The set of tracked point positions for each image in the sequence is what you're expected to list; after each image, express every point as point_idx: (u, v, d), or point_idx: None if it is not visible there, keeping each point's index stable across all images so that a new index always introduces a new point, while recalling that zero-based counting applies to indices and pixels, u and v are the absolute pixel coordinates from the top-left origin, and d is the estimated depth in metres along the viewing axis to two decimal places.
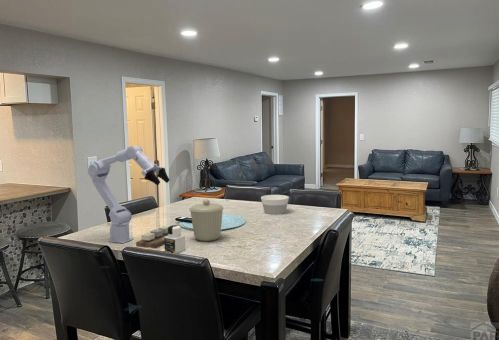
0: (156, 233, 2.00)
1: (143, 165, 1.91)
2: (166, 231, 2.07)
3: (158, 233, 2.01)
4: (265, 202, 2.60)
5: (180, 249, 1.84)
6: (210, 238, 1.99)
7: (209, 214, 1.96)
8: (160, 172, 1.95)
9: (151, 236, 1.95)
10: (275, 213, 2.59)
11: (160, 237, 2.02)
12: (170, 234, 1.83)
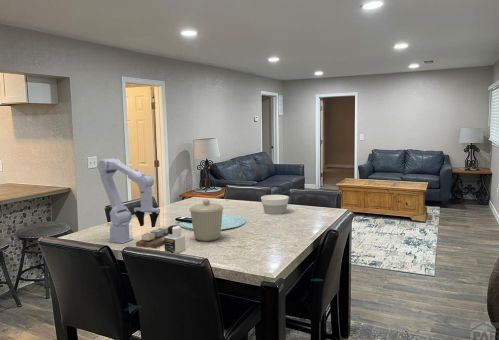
0: (156, 233, 2.00)
1: None
2: (166, 231, 2.07)
3: (158, 233, 2.01)
4: (265, 202, 2.60)
5: (180, 249, 1.84)
6: (210, 238, 1.99)
7: (209, 214, 1.96)
8: None
9: (151, 236, 1.95)
10: (275, 213, 2.59)
11: (160, 237, 2.02)
12: (170, 234, 1.83)
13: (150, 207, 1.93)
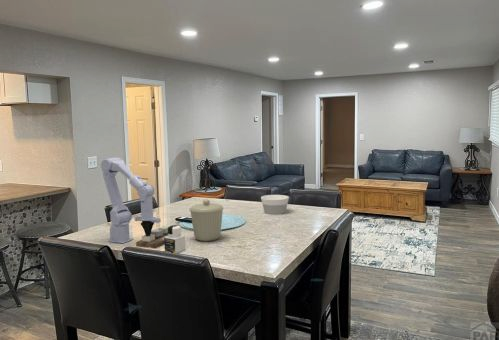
0: (156, 233, 2.00)
1: None
2: (166, 231, 2.07)
3: (158, 233, 2.01)
4: (265, 202, 2.60)
5: (180, 249, 1.84)
6: (210, 238, 1.99)
7: (209, 214, 1.96)
8: None
9: (151, 237, 1.95)
10: (275, 213, 2.59)
11: (160, 237, 2.02)
12: (170, 234, 1.83)
13: (150, 216, 1.94)
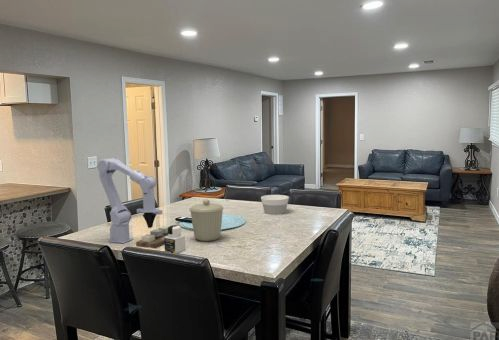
0: (156, 233, 2.00)
1: None
2: (166, 231, 2.07)
3: (158, 233, 2.01)
4: (265, 202, 2.60)
5: (180, 249, 1.84)
6: (210, 238, 1.99)
7: (209, 214, 1.96)
8: None
9: (151, 238, 1.95)
10: (275, 213, 2.59)
11: (160, 237, 2.02)
12: (170, 234, 1.83)
13: (152, 208, 1.95)
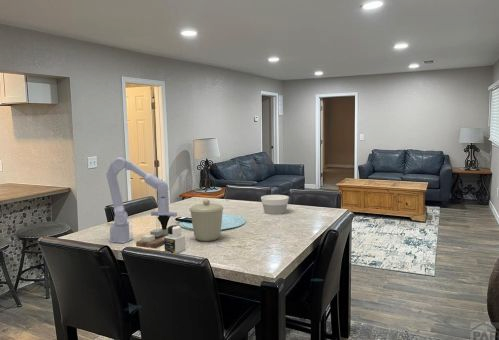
0: (156, 233, 2.00)
1: None
2: (166, 233, 2.08)
3: (158, 233, 2.01)
4: (265, 202, 2.60)
5: (180, 249, 1.84)
6: (210, 238, 1.99)
7: (209, 214, 1.96)
8: None
9: (151, 238, 1.95)
10: (275, 213, 2.59)
11: (160, 237, 2.02)
12: (170, 234, 1.83)
13: (167, 211, 2.07)
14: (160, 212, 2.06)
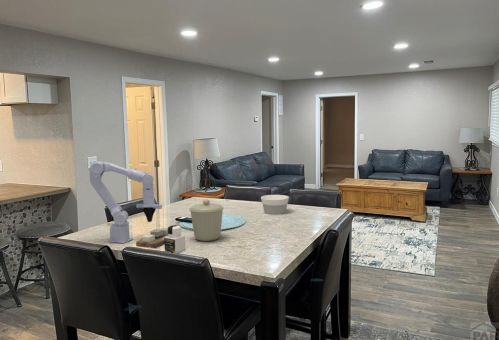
0: (156, 233, 2.00)
1: None
2: (166, 233, 2.08)
3: (158, 233, 2.01)
4: (265, 202, 2.60)
5: (180, 249, 1.84)
6: (210, 238, 1.99)
7: (209, 214, 1.96)
8: None
9: (151, 238, 1.95)
10: (275, 213, 2.59)
11: (160, 237, 2.02)
12: (170, 234, 1.83)
13: (152, 203, 2.04)
14: (145, 204, 2.03)
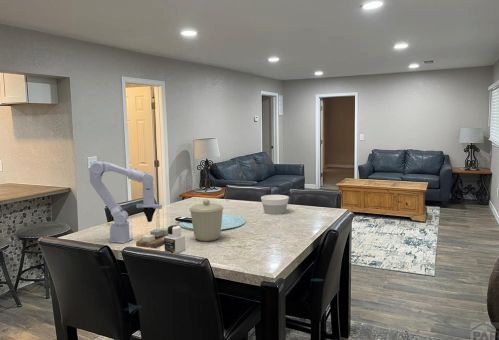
0: (156, 233, 2.00)
1: None
2: (166, 233, 2.08)
3: (158, 233, 2.01)
4: (265, 202, 2.60)
5: (180, 249, 1.84)
6: (210, 238, 1.99)
7: (209, 214, 1.96)
8: None
9: (151, 238, 1.95)
10: (275, 213, 2.59)
11: (160, 237, 2.02)
12: (170, 234, 1.83)
13: (152, 203, 2.04)
14: (145, 204, 2.03)
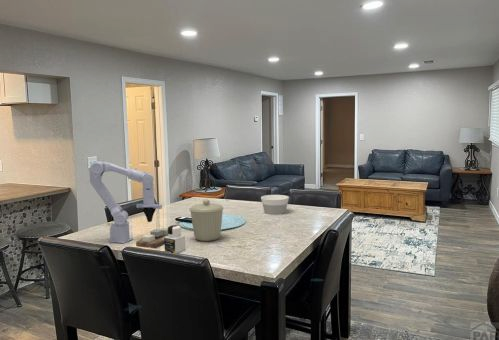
0: (156, 233, 2.00)
1: None
2: (166, 233, 2.08)
3: (158, 233, 2.01)
4: (265, 202, 2.60)
5: (180, 249, 1.84)
6: (210, 238, 1.99)
7: (209, 214, 1.96)
8: None
9: (151, 238, 1.95)
10: (275, 213, 2.59)
11: (160, 237, 2.02)
12: (170, 234, 1.83)
13: (152, 203, 2.04)
14: (145, 204, 2.03)
